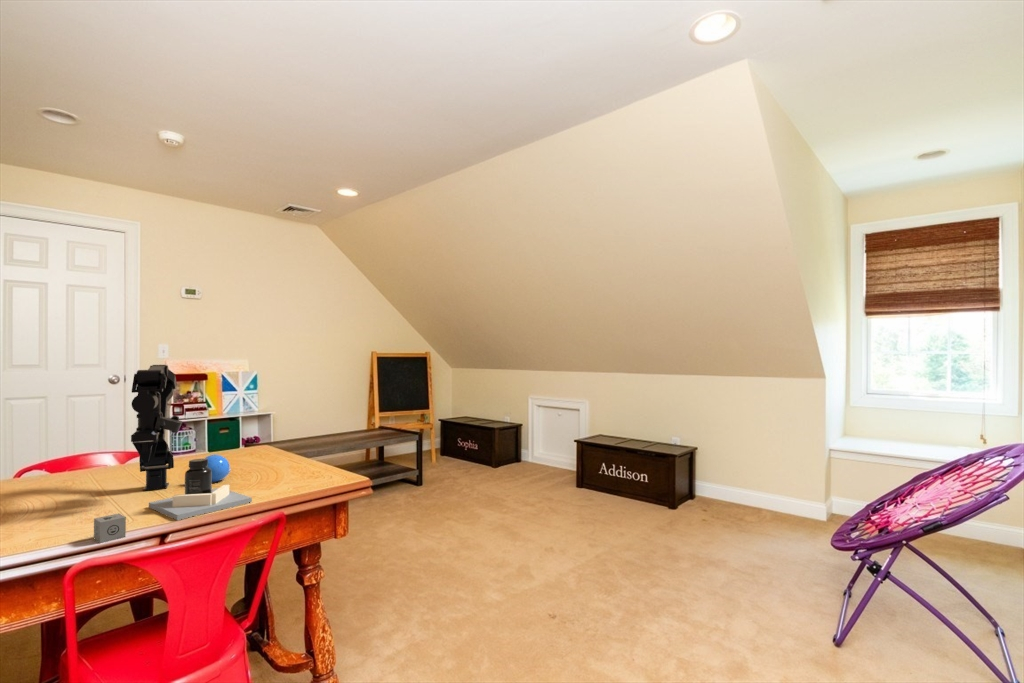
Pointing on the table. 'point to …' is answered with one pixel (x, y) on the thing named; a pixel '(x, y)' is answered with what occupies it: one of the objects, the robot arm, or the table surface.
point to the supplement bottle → (198, 477)
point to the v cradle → (199, 503)
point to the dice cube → (109, 528)
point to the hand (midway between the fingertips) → (148, 460)
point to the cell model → (218, 467)
